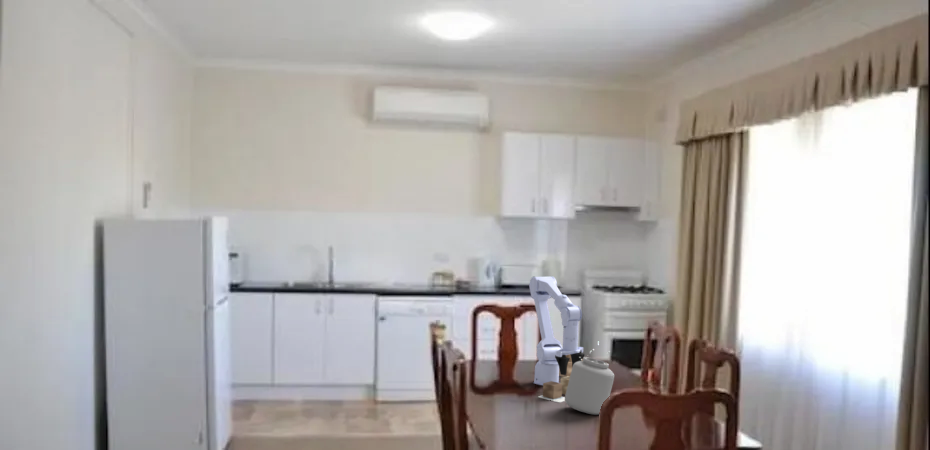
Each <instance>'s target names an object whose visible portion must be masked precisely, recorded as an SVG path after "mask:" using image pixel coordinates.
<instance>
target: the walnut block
mask: <svg viewBox="0 0 930 450" xmlns="http://www.w3.org/2000/svg"><path fill="white" fill-rule="evenodd" d="M542 395H543V397H546V398H550V399H557V398H560V397H563V396H562V395H563V394H562V384H561V382H559V383H557V382H553V381H550V382H546V383H543V385H542Z"/></svg>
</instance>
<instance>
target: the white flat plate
mask: <svg viewBox="0 0 930 450" xmlns="http://www.w3.org/2000/svg"><path fill="white" fill-rule="evenodd" d="M537 398H538V399H539V398H540V399H543V400H547V401H550V400H551V402H555V403H557V404H559V403H564V402H565V396H562V397H560V398H557V399H550V398H546V397H543V394H542V395H538V396H537Z"/></svg>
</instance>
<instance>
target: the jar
mask: <svg viewBox="0 0 930 450" xmlns="http://www.w3.org/2000/svg"><path fill="white" fill-rule="evenodd" d="M599 343H600V341H597V345H598V346H599V345H600V344H599ZM592 350H593V351H595V349H594V348H593V349H592ZM592 350H590V353H591V352H592ZM608 352H609V353H610V352H611V351H610V350H609V351H608ZM608 352H607V353H606V354H609V353H608ZM581 360H582V359H581ZM609 365H610V364H609V363H607V361H606V362H605V361H603V360H600V359H597V358H593V357H587V356H584V357H583V361H578V362H575V363H574V364H573V367H572V371H571V375H570V379H569V383H568V387H567V391H566V395H565V394H564V395H565V396H564V397H565V401H564V402H565V404H567V406H568V407H569V408H571V409H574V410H576V411H578V412H582V413H584V414H585V413H586V414H589V415H595V416H597V415H600V414H599V412H600V409H601V406H602V404H603V402H604V401H605V400H606V399H607V398H608V397H609V396H610V397H611V393H612V392H611V391H612V388H613V385H614V381H615V374H614V372H613V371H612V370H611V369H610V368H609ZM610 397H609V398H610Z"/></svg>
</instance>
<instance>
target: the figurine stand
mask: <svg viewBox="0 0 930 450" xmlns="http://www.w3.org/2000/svg"><path fill="white" fill-rule="evenodd" d="M566 357H568V358H570V359H569V362H568V365H567V373H566V375H562V374H560V369H559V377H561V378H562V377H567V376H569V377H570V375H571V371H572V359H571V355H566ZM582 361H583V359H582Z"/></svg>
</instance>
